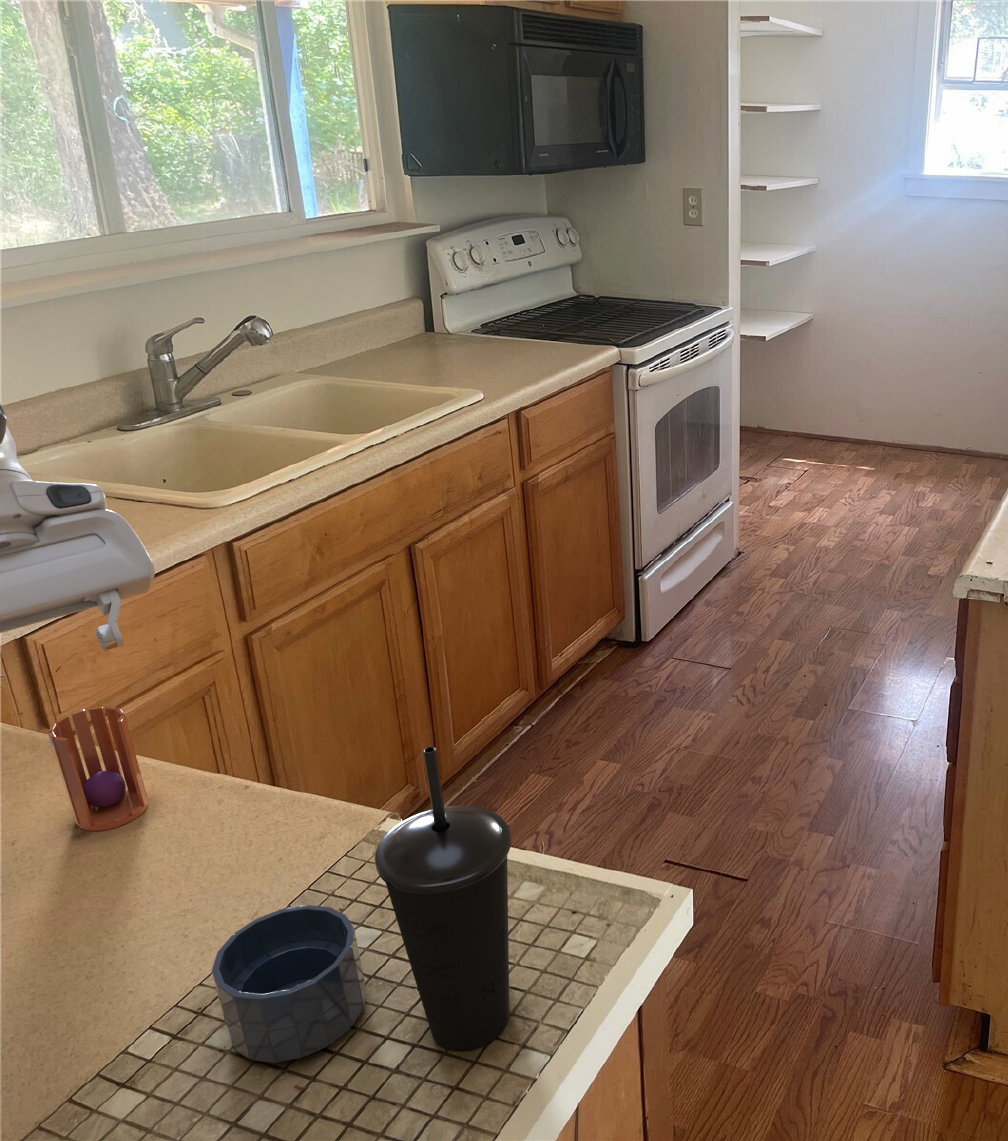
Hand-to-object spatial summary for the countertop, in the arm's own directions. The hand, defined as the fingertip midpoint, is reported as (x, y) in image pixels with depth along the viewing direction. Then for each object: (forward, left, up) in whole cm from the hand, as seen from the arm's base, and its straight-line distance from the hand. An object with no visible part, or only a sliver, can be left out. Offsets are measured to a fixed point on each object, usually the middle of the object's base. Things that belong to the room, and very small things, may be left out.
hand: (51, 664), depth 89 cm
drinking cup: (+33, -37, -11) cm, 51 cm away
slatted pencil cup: (+4, -7, -11) cm, 13 cm away
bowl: (+22, -34, -11) cm, 42 cm away
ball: (+4, -6, -9) cm, 11 cm away
